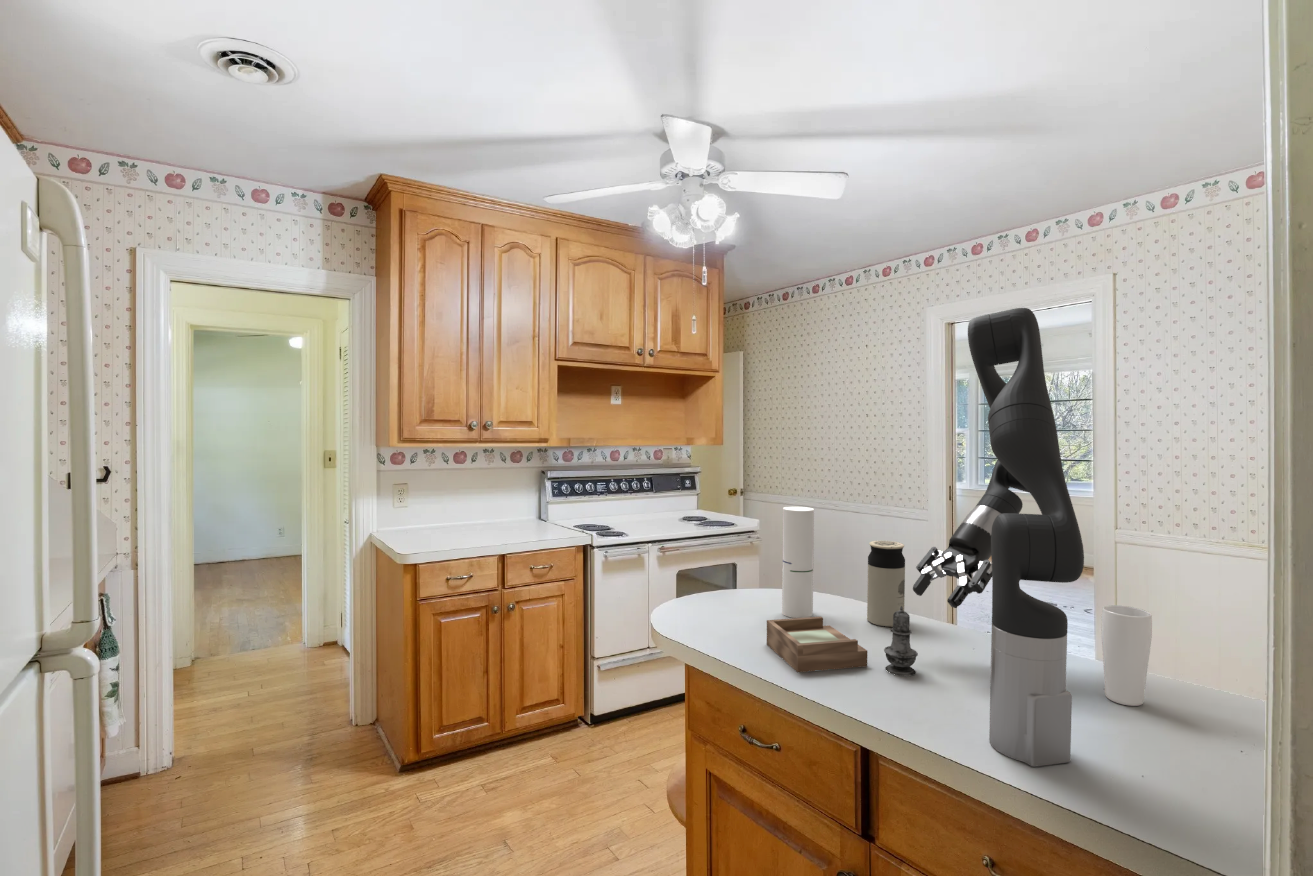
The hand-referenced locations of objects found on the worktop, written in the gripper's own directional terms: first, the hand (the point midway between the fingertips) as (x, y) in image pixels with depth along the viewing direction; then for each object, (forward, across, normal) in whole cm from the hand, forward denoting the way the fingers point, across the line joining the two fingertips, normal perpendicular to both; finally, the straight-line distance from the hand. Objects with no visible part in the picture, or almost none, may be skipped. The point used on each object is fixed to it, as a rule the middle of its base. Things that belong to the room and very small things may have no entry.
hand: (933, 598), depth 122 cm
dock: (+21, -12, -4) cm, 25 cm away
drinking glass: (-4, +24, +22) cm, 32 cm away
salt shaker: (+14, 0, +4) cm, 15 cm away
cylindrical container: (+13, -36, +5) cm, 39 cm away
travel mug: (+2, -23, +16) cm, 28 cm away
